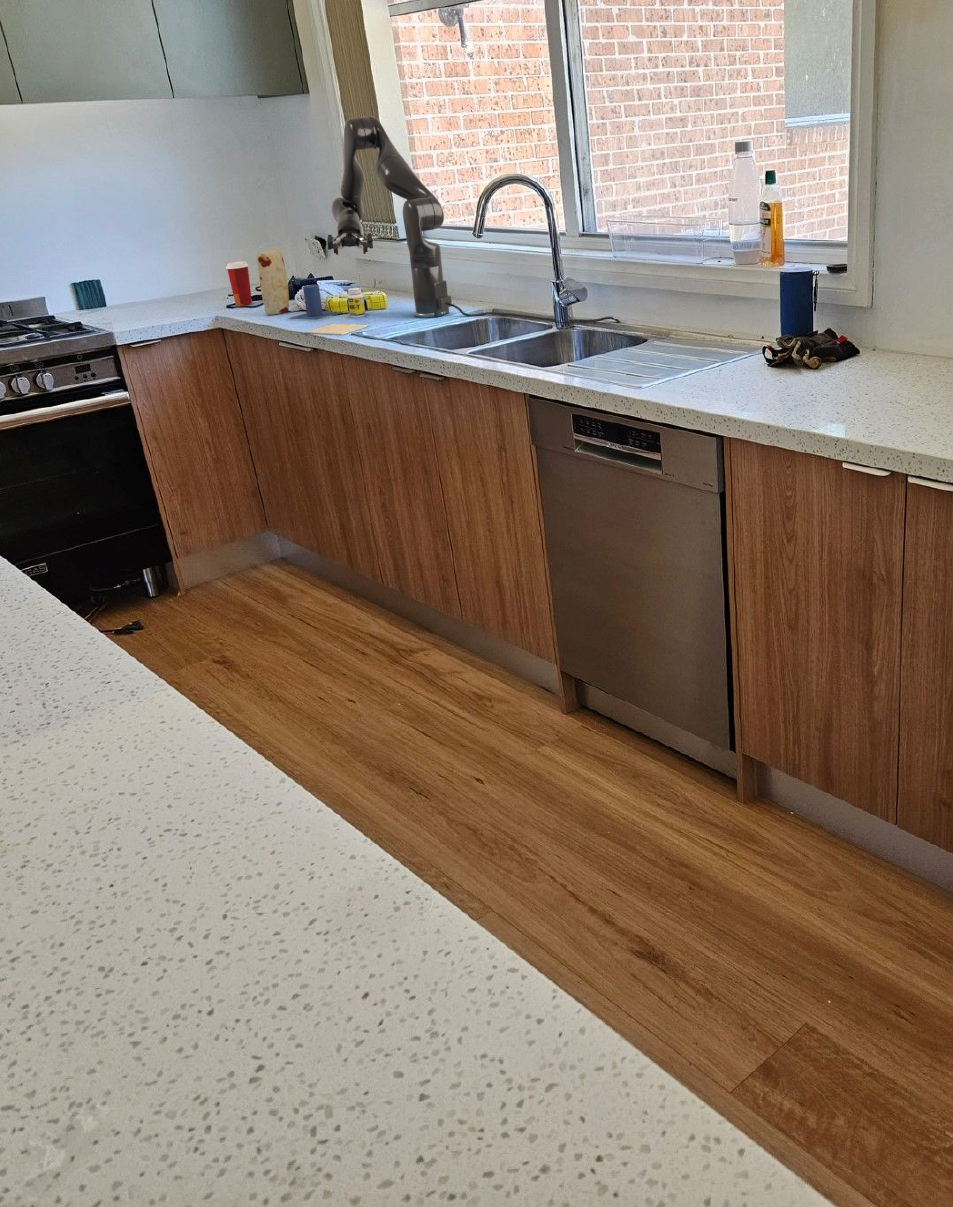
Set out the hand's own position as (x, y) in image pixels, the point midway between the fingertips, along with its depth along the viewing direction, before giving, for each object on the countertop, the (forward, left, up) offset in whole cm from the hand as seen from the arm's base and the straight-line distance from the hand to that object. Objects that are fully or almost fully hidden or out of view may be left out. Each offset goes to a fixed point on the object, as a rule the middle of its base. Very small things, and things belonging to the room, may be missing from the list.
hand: (350, 251), depth 334 cm
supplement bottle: (-7, +8, -18) cm, 21 cm away
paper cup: (+54, -3, -18) cm, 58 cm away
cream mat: (-14, +26, -18) cm, 35 cm away
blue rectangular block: (+9, +10, -18) cm, 23 cm away
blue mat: (+9, +10, -18) cm, 23 cm away
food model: (+26, +9, -18) cm, 33 cm away
